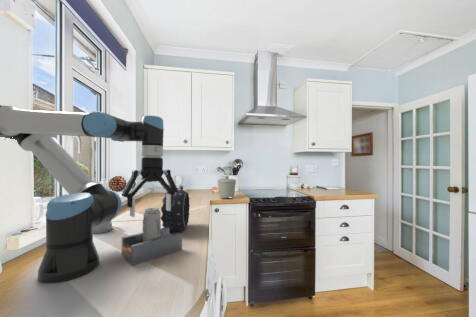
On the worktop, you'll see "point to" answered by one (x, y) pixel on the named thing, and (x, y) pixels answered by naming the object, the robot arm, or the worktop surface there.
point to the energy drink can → (151, 224)
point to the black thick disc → (176, 211)
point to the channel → (150, 246)
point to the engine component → (103, 227)
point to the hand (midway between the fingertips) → (151, 213)
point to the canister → (226, 187)
